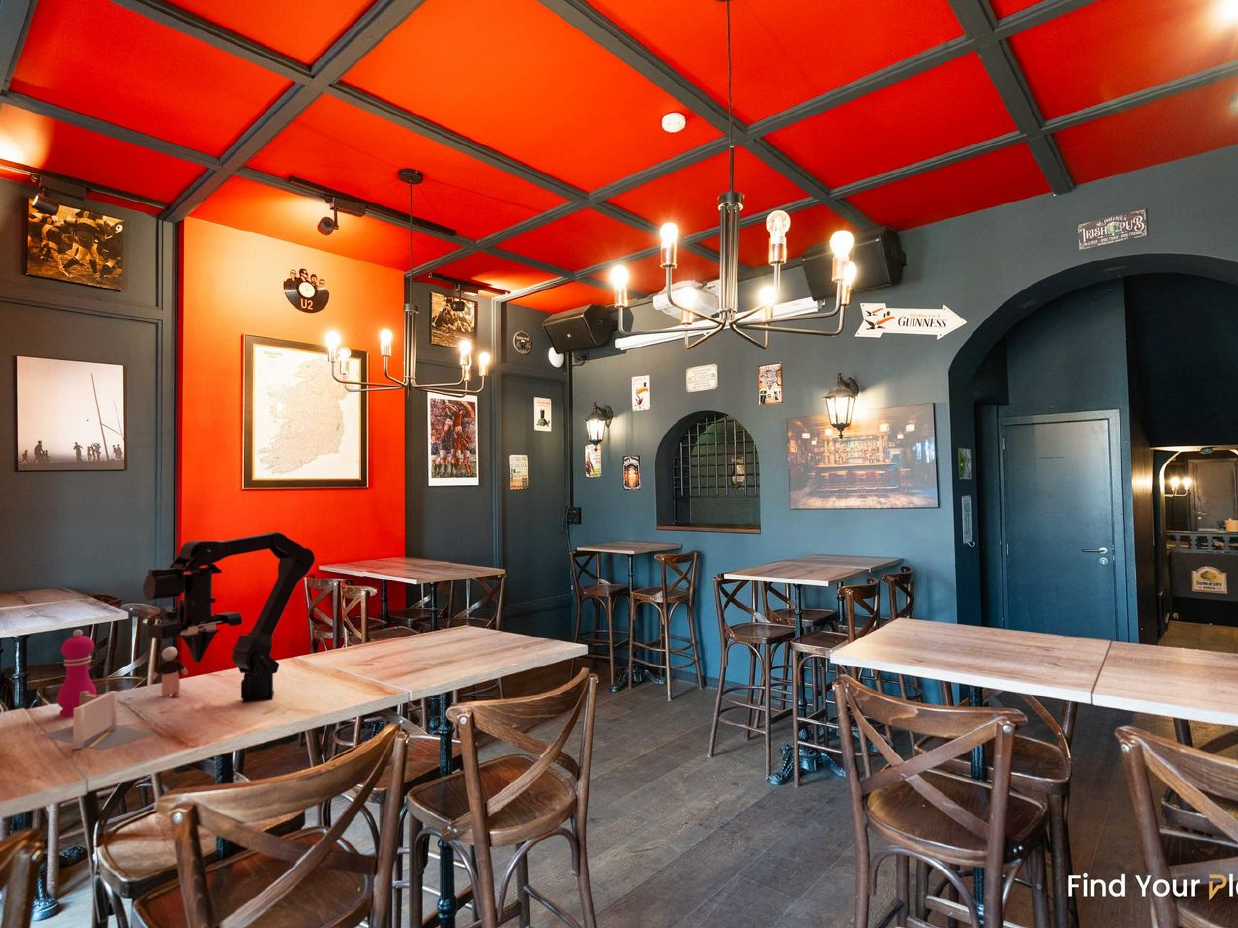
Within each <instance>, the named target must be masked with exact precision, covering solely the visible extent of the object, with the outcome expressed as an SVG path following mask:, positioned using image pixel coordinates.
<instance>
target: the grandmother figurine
mask: <svg viewBox="0 0 1238 928" xmlns="http://www.w3.org/2000/svg"><path fill="white" fill-rule="evenodd" d="M177 655H178V651H177V648H176V647H174V646H168V647H166V648H165V649H163V651H162V652H161V657H162V658H163V659H164V661H165V662H163V663H160V664H159V665H158V666H157V667H156V668H155V669H154V671H153V674H152V676H151V680H154V681H155V680H156V679H157V677H158V675H160V674H162V675H161V696H162V697H163V698H169V699H171V698H178V697H182V693H181V687H180V686H181V684H180V683H181V682H180V674H179V671H178V670H180V671H181V673H182V674H183V675H184V676H186V675H188V670H187V668H186V666H185V665H184V664H183V663H182V662H181V661H179V660H175V659H176V656H177Z"/></svg>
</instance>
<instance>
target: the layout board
mask: <svg viewBox="0 0 1238 928" xmlns="http://www.w3.org/2000/svg"><path fill="white" fill-rule="evenodd" d="M104 694H105V693H103V694H96V695H93V694H89V691H84V692H80V706H81V705H83V704H85V703H87V702H89V701H92V700H94V699H96V698H98V697H100V696H102V695H104ZM153 735H155V733H154V732H148V731H145V730H140V729H137V728H136V729H135V728H131V727H126V726H122V725H118V724H117V729H115V730H112V731H105V730H103V731H101V732H100V733H98V734H96V735H94V736H92V737H91V738H89V739H87V740H85V741H84V743H83V747H86V748H90V749H94V750H97V751H104V750H108V749H110V748H114V747H117V746H121V745H124V744H127V743H130V742H131V743H132V742H133V741H137V740H139V739H143V738H146V737H149V736H153ZM41 736H43V737H45V738H46V737H47V738H50V739H54V740H58V741H62V742H64V743H71V744H73V725H72V726H68V727H66V728H61V729H57V730H53V731H50V732H45V733H43V734H41Z"/></svg>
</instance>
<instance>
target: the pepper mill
mask: <svg viewBox="0 0 1238 928" xmlns="http://www.w3.org/2000/svg"><path fill="white" fill-rule="evenodd" d="M83 634H84V633H83V630H81V629H75V630H74V631H73V633H72V636H73V637H70V638H68V639H66V640H65V641H64V642H63V643H62V645H61V648H60V653H61V654H62V656H63V657H65V658H64V659H63V662H64V663H63V666H65V669H66V672H65V679H64V682H63V684H62V686H61V687H60V689H59V691H58V694H57V699H56V702H57V704H58V706H59V707H61V709H60V710H59V717H60V718H72V717H73V718H74V708H76V707H79V706H80V692H84V691H89V694H93V695H97V688H96V686H95V684H94V683H93V681H92V680H91V677H90V674H89V666H90V665H89V664H90V663H91V662H92V660H91V658H92V656H91V655H90V654H91V653H92V652H93V650H94V648H95V647H94V646H95V643H94V641H93V640H92V638H90V637H89V636H84V635H83Z"/></svg>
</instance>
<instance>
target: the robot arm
mask: <svg viewBox="0 0 1238 928" xmlns="http://www.w3.org/2000/svg"><path fill="white" fill-rule="evenodd" d="M263 550H264V551H265V550H270V552H271V553H272V554H273V556H274V557H276V558H277V559H278V560H279V562H278V566H277V579H276V581H275V583H274V585H273V586H272V587H273V588H272V589H271V591H270V594H269V596H268V597H267V599H266V601H265V603H264V605H263V608H262V610H261V611H260V614H259V616H258V618H257V619H256V622H255V624H254V626H253V627H252V629H251V631H250V632H248V634H247V635H245V634H240V635H239V636H238V638H237V641H236V644H235V646H234V647H233V648H232V649H231V651H233V653H232V656H231V660H232V662H233V664H234V665H235V666H236V667H237V668H238V670H239V673H240V674H244V675H243V679H242V680H241V683H240V699H242V703H248V702H255V701H256V702H257V701H266V700H272V699H273V697H274V694H275V691H274V674H277V673H278V670H279V667H280V664H279V663H278V662H277V661H276V660H275V659H274V658H272V656H271V653H272V650H273V635H274V632H275V631H276V628H277V626H278V625H279V623H280V620H281V618H282V616H283V614H284V612H285V609H286V607H287V605H288V603H289V600H290V598H291V597H292V595H293V593H294V590H295V588H296V586H297V584H298V583H299V582H300V581H301V580H302V579H303V578H304V577H305V576H306V575H307V574H308V573H309V572H310V570H311V569H312V567H313V566H314V564H315V561H316V556H315V553H314V552H313V550H311V549H310V548H307V547H304V546H303V545H302V544H299V543H298V542H295V541H294V540H292V539H291V538H288V537H287V536H286V535H285V534H284V533H282V532H278V531H277V532H275V531H274V532H271V531H269V532H267V533H263V534H258V535H250V536H245V537H239V538H238V537H237V538H232V539H227V540H190V541H187V542H185V543H184V544H183V545H182V546H181V548H180V549H179V554H178V555H177V556H176V558H175V559H174V561H173V562H172V564H170V566H169V567H168V568H163V569H159V568H158V569H152V568H151V569H148V572H147V573H148V575H147V576H146V577H145V580H144V583H143V585H142V591H143V595H144V598H145V599H146V600H147V601H148V602H150V601H158V600H165V599H175V598H178V597H180V596H181V594H182V599H179V601H178V607H173V606H172V605H169V606H163V607H161V608H160V609H159V619H160V622H161V623H155V624H151V625H150V627H149V628H148V631H147V633H148V636H147V637H148V638H151V639H159V640H160V639H161V640H164V639H165V640H166V639H167V640H168V639H172V638H176V637H177V638H181V640H182V641H184V643H185V644H186V646H187V648H188V651H189V652H190V655H191V657H192V661H193V662H194V663H201V661H202V659H203V657H204V655H205V653H206V651H207V650H208V647H209V645H210V644H211V643H212V640H213V639H214V637H215V636H216V635H217V633H220V629H217V627H216V626H219V625H220V626H221V625H226V624H227V625H228V626H229V627H235V626H239V625H240V626H241V625H243V616H242V615H241V613H240V612H233V611H225V612H219V613H215V614H213V604H214V603H216V597H213V575H216V574H217V575H218V574H222V573H223V570H222V569H220V568H219V567H217V566H216V564H215V563H218V562H220V561H221V560H224V559H226V558H228V557H231V556H236V555H241V554H247V553H253V552H258V551H259V552H260V551H263ZM202 566H203V567H202Z"/></svg>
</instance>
